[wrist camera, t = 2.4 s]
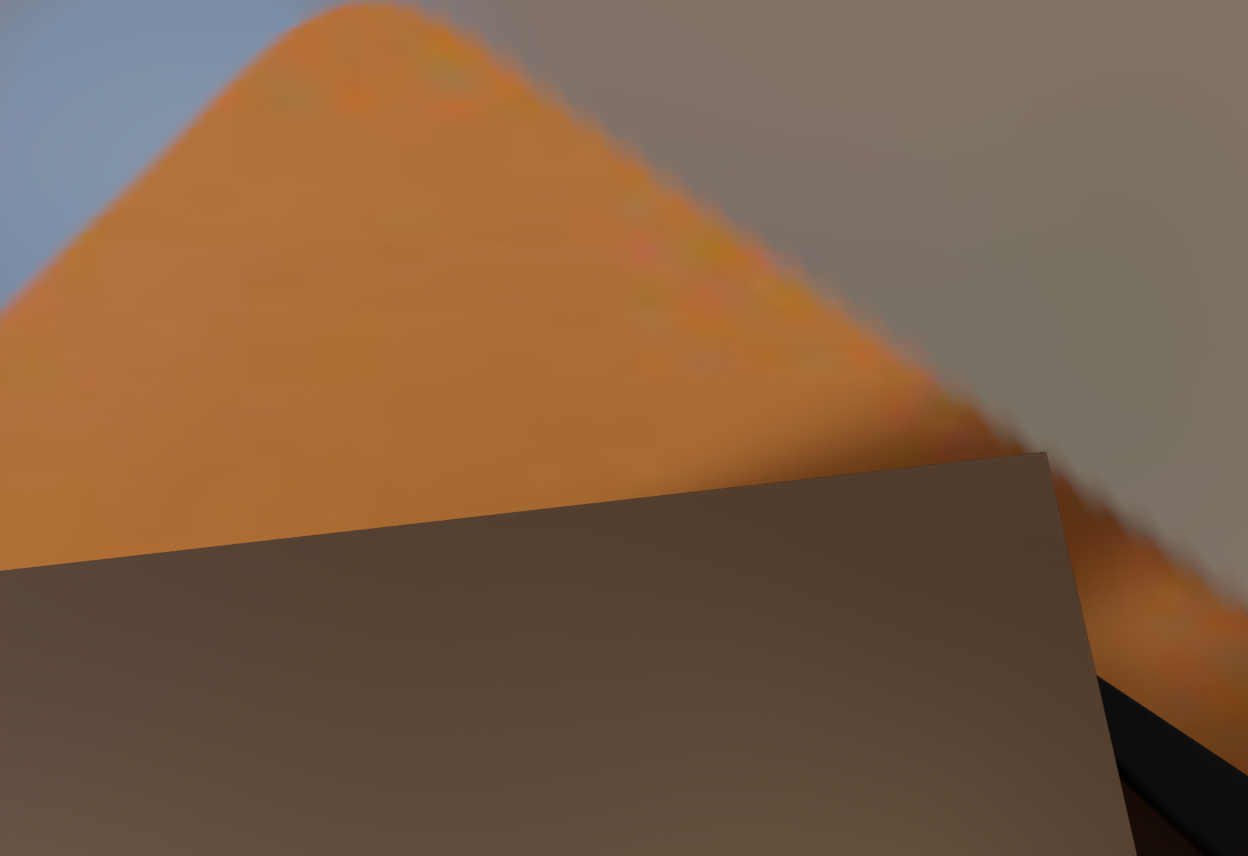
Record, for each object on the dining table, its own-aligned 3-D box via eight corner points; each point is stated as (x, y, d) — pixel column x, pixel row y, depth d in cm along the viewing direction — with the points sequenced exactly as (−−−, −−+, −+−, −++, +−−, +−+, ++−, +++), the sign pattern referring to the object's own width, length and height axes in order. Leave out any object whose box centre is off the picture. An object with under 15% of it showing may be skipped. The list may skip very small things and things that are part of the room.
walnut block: (735, 739, 17) (1154, 931, 5) (346, 793, 16) (-217, 1153, 4) (714, 592, 17) (1045, 451, 5) (337, 638, 17) (-186, 593, 5)
